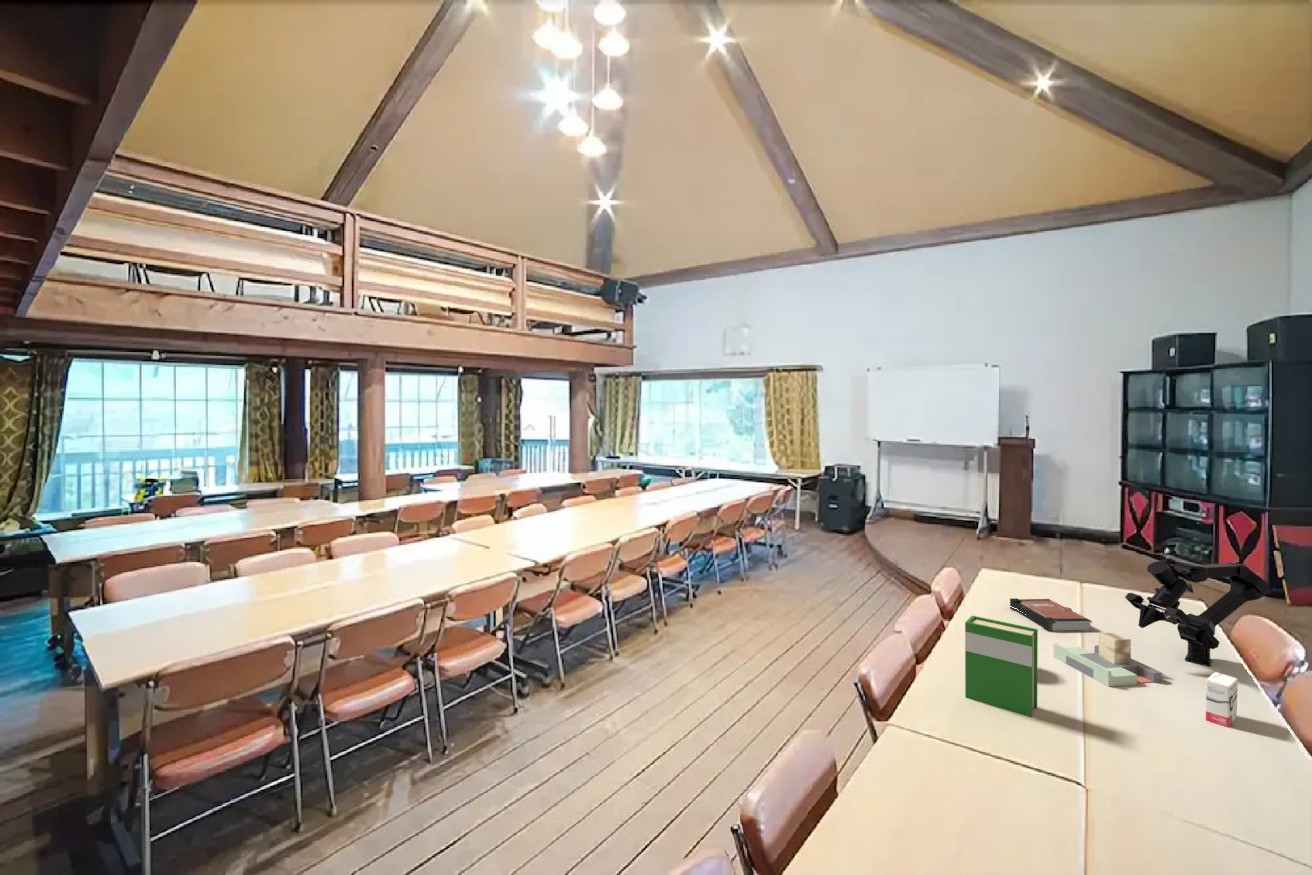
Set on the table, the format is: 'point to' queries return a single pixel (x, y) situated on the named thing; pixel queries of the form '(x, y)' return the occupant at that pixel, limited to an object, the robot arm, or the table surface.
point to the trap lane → (1106, 667)
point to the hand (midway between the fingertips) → (1140, 626)
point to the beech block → (1114, 648)
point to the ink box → (1221, 699)
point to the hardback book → (1001, 664)
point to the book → (1050, 615)
